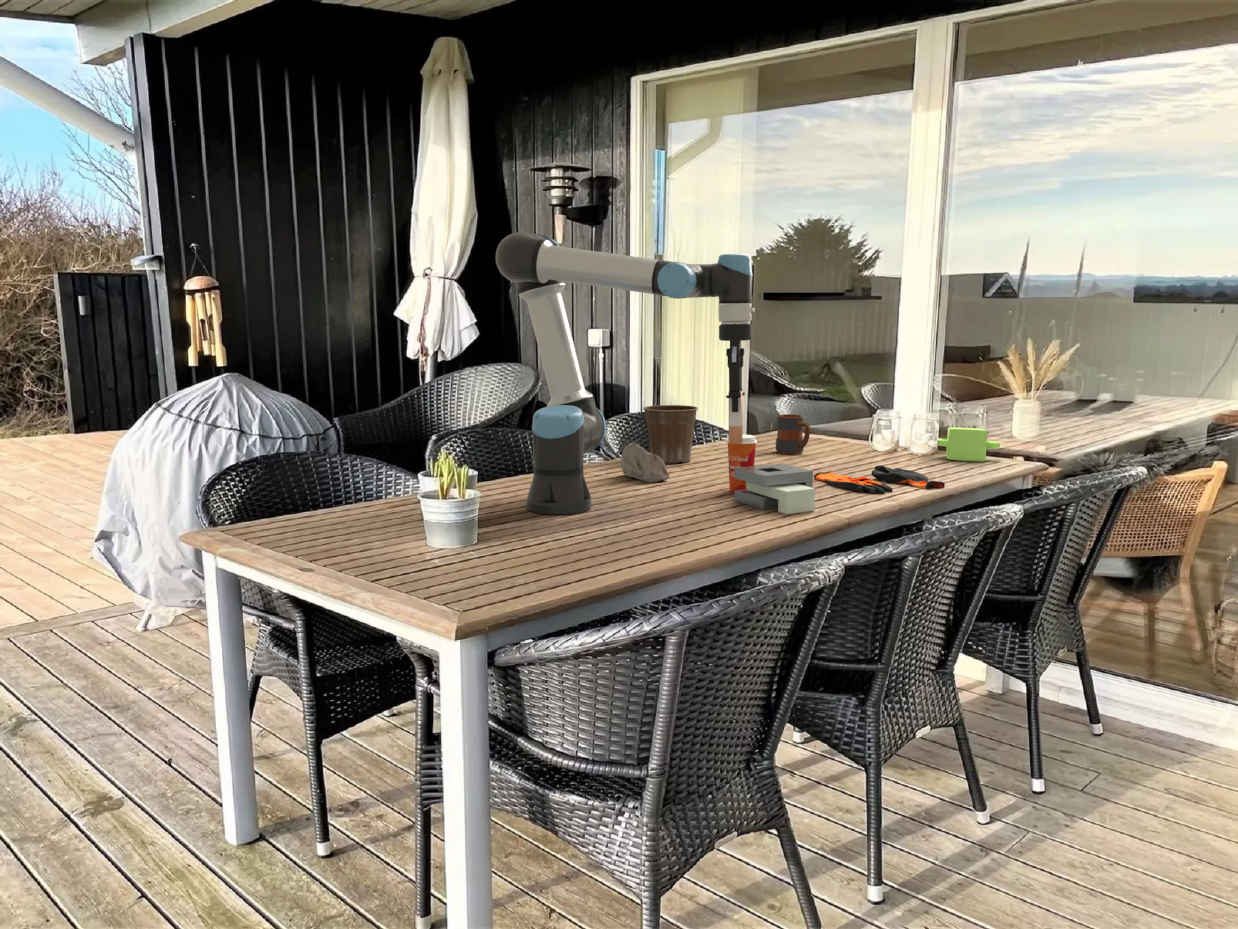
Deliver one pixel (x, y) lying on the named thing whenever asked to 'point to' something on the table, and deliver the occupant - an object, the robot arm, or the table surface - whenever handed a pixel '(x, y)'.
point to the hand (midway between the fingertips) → (735, 424)
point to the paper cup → (740, 459)
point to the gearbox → (967, 444)
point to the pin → (737, 429)
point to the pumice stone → (642, 464)
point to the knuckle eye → (788, 496)
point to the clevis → (769, 482)
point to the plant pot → (671, 431)
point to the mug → (791, 434)
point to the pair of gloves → (880, 474)
